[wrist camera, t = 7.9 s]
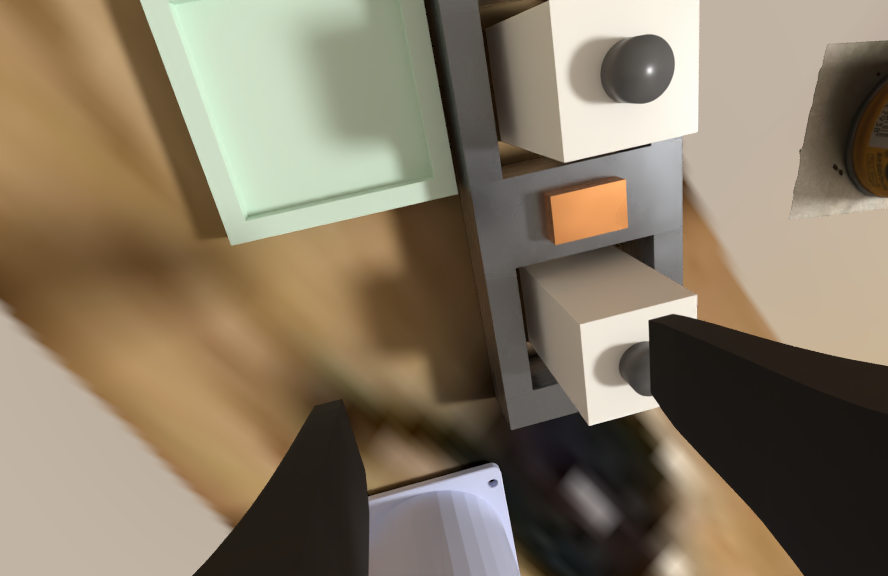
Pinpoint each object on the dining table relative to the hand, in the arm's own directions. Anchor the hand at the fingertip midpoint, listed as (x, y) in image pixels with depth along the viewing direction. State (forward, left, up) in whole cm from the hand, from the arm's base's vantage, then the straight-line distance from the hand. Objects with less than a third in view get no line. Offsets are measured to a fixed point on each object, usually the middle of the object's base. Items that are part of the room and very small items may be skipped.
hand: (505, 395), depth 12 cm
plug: (+6, -5, -10) cm, 13 cm away
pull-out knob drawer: (-3, -5, -11) cm, 12 cm away
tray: (+7, +3, -10) cm, 13 cm away
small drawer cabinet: (+1, -5, -10) cm, 12 cm away
